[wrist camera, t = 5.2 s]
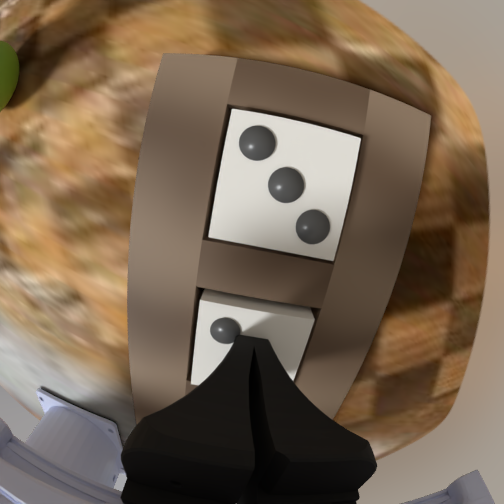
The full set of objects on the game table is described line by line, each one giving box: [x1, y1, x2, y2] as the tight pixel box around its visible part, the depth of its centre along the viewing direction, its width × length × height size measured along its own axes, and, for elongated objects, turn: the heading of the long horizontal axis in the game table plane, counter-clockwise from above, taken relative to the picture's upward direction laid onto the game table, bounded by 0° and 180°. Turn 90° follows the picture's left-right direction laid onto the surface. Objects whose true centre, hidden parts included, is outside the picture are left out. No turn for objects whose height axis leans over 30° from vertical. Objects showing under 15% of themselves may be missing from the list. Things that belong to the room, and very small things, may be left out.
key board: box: [127, 53, 431, 425], centre depth 13 cm, size 23×11×2 cm, turn 169°
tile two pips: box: [191, 288, 315, 385], centre depth 12 cm, size 4×4×3 cm
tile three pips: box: [208, 109, 361, 261], centre depth 10 cm, size 4×4×3 cm
